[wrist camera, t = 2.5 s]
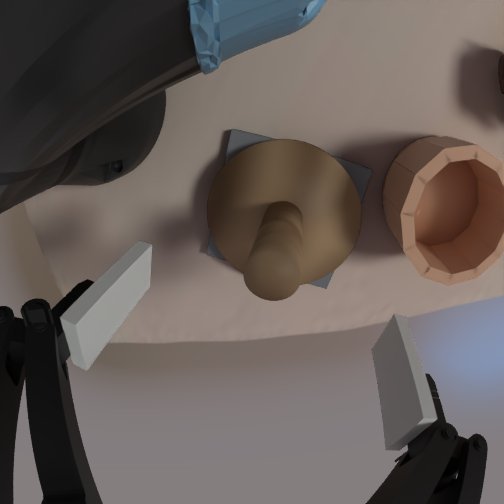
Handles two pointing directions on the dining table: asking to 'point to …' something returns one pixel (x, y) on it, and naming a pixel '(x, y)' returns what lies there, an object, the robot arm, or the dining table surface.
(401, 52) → the dining table surface
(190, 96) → the dining table surface
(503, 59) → the pottery mug
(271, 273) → the walnut lid
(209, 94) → the dining table surface
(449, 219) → the terracotta bowl
